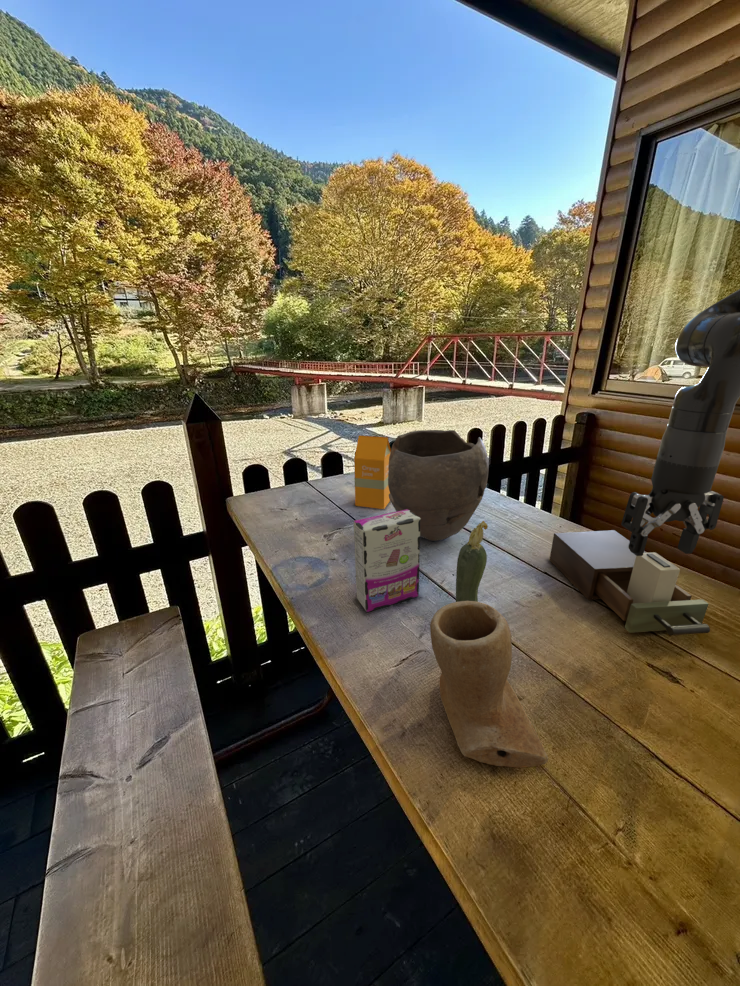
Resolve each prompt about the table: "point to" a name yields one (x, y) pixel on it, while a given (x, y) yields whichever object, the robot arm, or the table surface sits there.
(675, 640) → the table surface
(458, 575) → the vegetable
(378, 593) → the candy bar box
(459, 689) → the clay boot vessel
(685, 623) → the drawer
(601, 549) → the cabinet
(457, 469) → the clay pot
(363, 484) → the orange juice
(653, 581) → the slotted beige box
